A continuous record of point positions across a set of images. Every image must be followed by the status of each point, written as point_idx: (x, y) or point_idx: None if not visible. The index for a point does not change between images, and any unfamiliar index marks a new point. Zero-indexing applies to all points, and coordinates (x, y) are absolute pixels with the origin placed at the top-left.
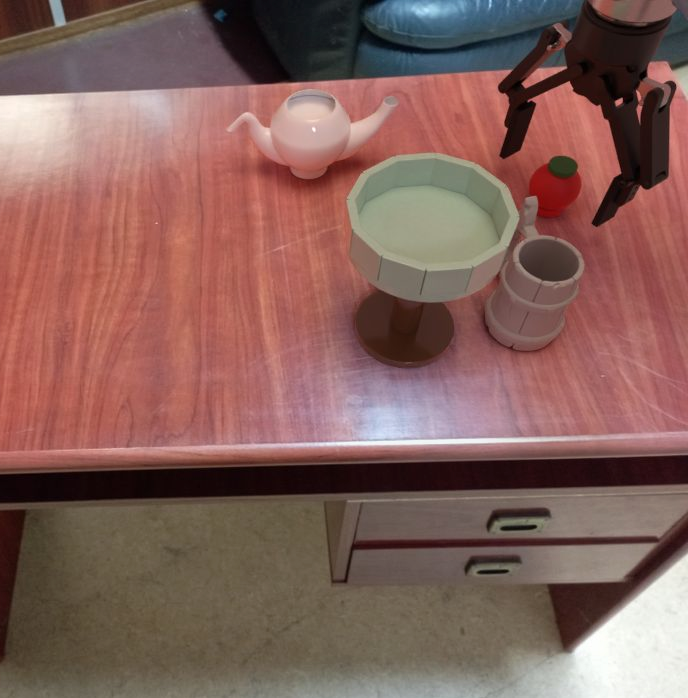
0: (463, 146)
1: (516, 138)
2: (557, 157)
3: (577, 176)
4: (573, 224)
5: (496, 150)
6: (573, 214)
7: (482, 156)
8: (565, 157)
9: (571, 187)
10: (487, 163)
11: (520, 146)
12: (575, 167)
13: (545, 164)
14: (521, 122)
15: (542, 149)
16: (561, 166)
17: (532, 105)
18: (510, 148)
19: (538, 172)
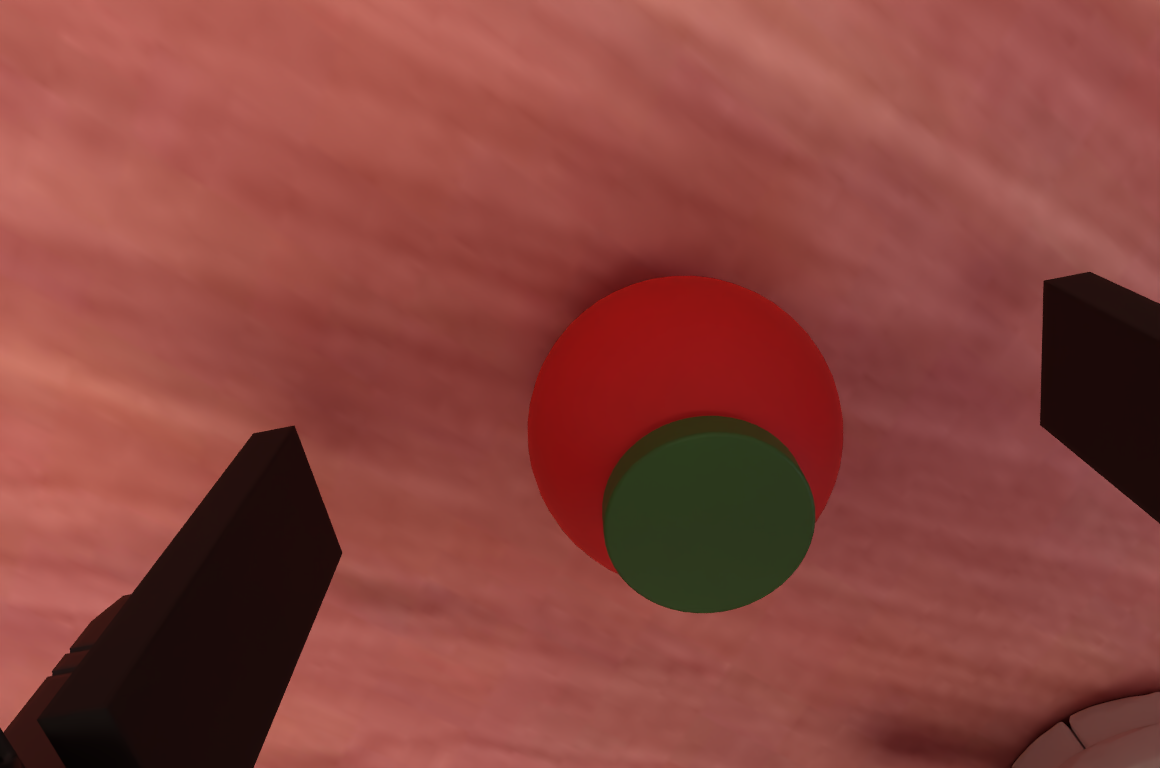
0: (61, 480)
1: (282, 590)
2: (623, 522)
3: (791, 412)
4: (838, 313)
5: (139, 343)
6: (779, 267)
7: (170, 436)
8: (652, 475)
9: (833, 476)
10: (234, 443)
11: (286, 456)
12: (782, 476)
13: (578, 518)
14: (227, 698)
15: (205, 81)
16: (722, 554)
17: (127, 753)
18: (312, 567)
19: (608, 567)
